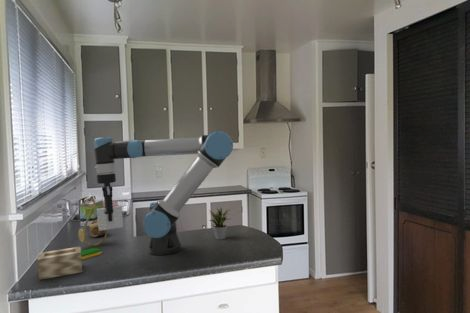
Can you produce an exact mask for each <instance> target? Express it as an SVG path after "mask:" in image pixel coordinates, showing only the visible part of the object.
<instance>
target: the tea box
mask: <svg viewBox="0 0 470 313" xmlns="http://www.w3.org/2000/svg"><path fill="white" fill-rule="evenodd" d="M94 201H95V203H96V206H95V209H94V211H93V213H92V215H91V216H90V218H89V220H88V223H87V226H86V227H89V225H90V224H91V223H92V222H93V221H98V218H97V209H99V208H104V202H103V199H101V200H94ZM83 203H84V202H82V203H80V204H79V219H80V227H84V226H85V223H86V220H87V218H88V216H89V214H90V213H91V211H92V209H93V207H94V203H93V201H92V200H87V201H86V202H85V204H86V205H87V204H88V203H89V205H88V206H84V204H83Z"/></svg>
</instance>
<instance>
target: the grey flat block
mask: <svg viewBox="0 0 470 313" xmlns="http://www.w3.org/2000/svg"><path fill="white" fill-rule="evenodd" d="M105 213H106V208H105V207H103V208H99V209H97V218H98V229H99V231H101V230H107V231H108V230H109V229H107V217H106V214H105ZM123 218H124V217H123V207H122V205H116V206H115V205H114V206H113V219H114V228H112V229H111V230H113V229H121V228H124V219H123Z"/></svg>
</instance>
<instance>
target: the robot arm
mask: <svg viewBox="0 0 470 313" xmlns="http://www.w3.org/2000/svg"><path fill="white" fill-rule="evenodd" d="M93 145H94V148H93V149H94V156H95V157H94V158H95V166H94V169H95V170H96V174H97V176H96V182H97V184H100V185H101V184H103V187H102V186H101V190H102V195H103V198H104V208H106V213H105V214H106V217H107V229H108V230H113V229H112V228H114V219H113V207H114V206H113V186H111V184H112V183H115V182H116V180H117V179H116V178H117V177H116V173H115V172H116V165H115V160H118V159H120V160H121V159H137V158H141V157H160V156H179V155H180V156H182V155H197V157H196V158H195V159H194V160H193V161H192V162H191V164H190V165H189V166H188V167H187V169H186V170H185V171H184V173H183V174H182V176H181V177H180V178H179V180H177V182H176V183H175V184H174V186H173V187H172V188H171V189H170V191H169V192H168V193H166V195H165V197H164V198H162V199H158V200H157V201H155V202H150V204H149V211H148V213H146V214H145V215H144V217H143V220H142V228H143V231H144V232H145V234H147V235H148V236H149V237H150V240H149V246H148V253H149V254H151V255H157V256H162V255H163V256H164V255H170V254H175V253H177V252H180V251H181V250H182V241H181V239H180V237H179V235H178V232H177V231H178V229H177V221H178V219H180V216H181V214H180V211H181V210H183V207H184V206H185V204H186V203H187V202H188V201H189V200H190V199H191V197H192V196H193V195H194V193H196V191H197V190H198V188H199V187H201V185H202V183H203V182H204V181H205V180H206V179H207V177H208V176H209V174H210V173H212V172H213V169H217V168H219V167H220V166H221V165H222V164H223V162H224V161H225V160H226V159H227V158H228V157H229V156H230V155H231V154H232V152H233V148H234V142H233V139H232V137H231V136H230V135H229V134H228V133H227V132H225V131H222V130H219V131H218V130H216V131H213V132H211V133H209V134H203V135H202V134H201V135H200V136H199V137H186V138H167V139H166V138H163V139H145V140H136V139H132V140H120V141H114V140H113V137H110V136H108V137H97V138H94V144H93ZM114 229H115V228H114Z"/></svg>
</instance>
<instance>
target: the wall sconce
mask: <svg viewBox="0 0 470 313" xmlns="http://www.w3.org/2000/svg"><path fill="white" fill-rule="evenodd" d="M88 201H93V203H94V207H93V209H92V211H91V213H90V214H89V216H88V218H87V220H86V223H85V226H83V228H79V229H78V240H79V241H80V242H81V243H86V244H87V245H88V246H91V247H96V246H97V247H98V246H100V245H102V244H103V243H104V242H105V241H106V239H107V238H108V237H107V236H108V230H104V231H105V234H104V238H103V240H101V241H100V242H98V243H90V242H89V241H88V239H87V236H88V234H87V232H86V229H87V227H89V228H90V227H96V228H94V229H93V230H92V231H91V233H90V234H91V237H93V238H96V236H98V235H93V231H94V230H96V229H98V223H94V224H90V225H89V226H87V223H88V220H89V218H90V216H91V215H92V213H93V211H94V209H95V206H96V203H95V201H96V200H94V198H92V197H89V198H86V199H84V200H83V202H82V203H83V204H84V206H88V205H89V203H88V204H87V205H86V204H85V202H88ZM97 232H98V233H100V231H99V229H98V231H97Z"/></svg>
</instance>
